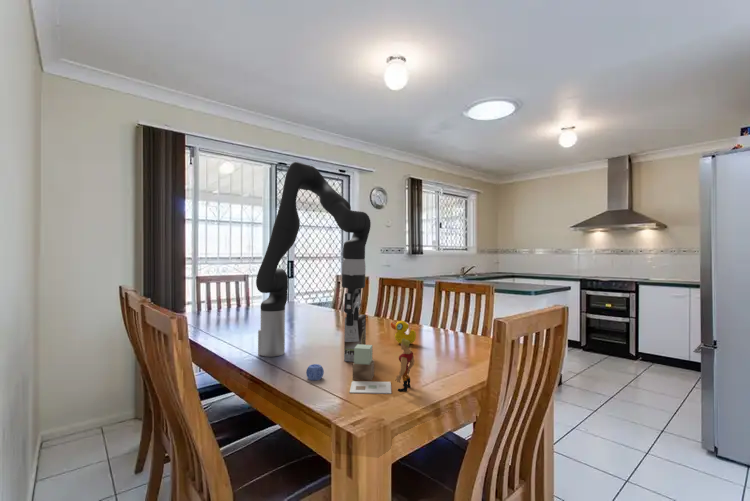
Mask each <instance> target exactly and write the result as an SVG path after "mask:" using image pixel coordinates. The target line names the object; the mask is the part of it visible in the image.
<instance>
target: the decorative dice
mask: <svg viewBox="0 0 750 501" xmlns="http://www.w3.org/2000/svg"><path fill="white" fill-rule="evenodd" d="M305 371H306V372H305V374H306V377H307V379H308V380H309V381H320V380H321V379H322V378H323V376H324V373H325V372H324V367H323V366H322V365H321V364H317V363H313V364H309V366H308V367H307V368H306V370H305Z"/></svg>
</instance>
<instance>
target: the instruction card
mask: <svg viewBox="0 0 750 501" xmlns="http://www.w3.org/2000/svg"><path fill="white" fill-rule="evenodd" d="M391 382H392V381H366V380H352V381H351V383H350V389H349V394H380V395H381V394H383V395H385V394H387V395H391V394H392V384H391Z"/></svg>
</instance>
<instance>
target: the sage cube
mask: <svg viewBox="0 0 750 501" xmlns="http://www.w3.org/2000/svg"><path fill="white" fill-rule="evenodd" d="M372 360H373V344H366V345H361V344H357V346H356V347H355V348H354V362H353V363H354V364H365V365H370V363H371V362H372Z"/></svg>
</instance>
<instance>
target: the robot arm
mask: <svg viewBox="0 0 750 501" xmlns="http://www.w3.org/2000/svg"><path fill="white" fill-rule="evenodd" d="M299 190H303V191H309V192H311V193H314V194H315V195H316V196H317V197H318V198H319V202H320V204H321V206H322V207H323V209H325V211H327V213H328V214H329V215H330V216H332V217H333V219H334V221H335V223H336V225H337V226H338V228H339V229H341V231H344V232H345V233H351V234H352V236H351V239H349V240H346V241H344V243H343V255H342V256H343V257H342V264H341V287H342V288H344V289H347V292H345V293H344V310H343V312H344V313H345V314H346V316H345V317H346V325H347V326H353V325H354V321H357V320H358V319H359V314H360V308H361V306H362V304H361V300H362V299H361V298H362V296H361V295H362V289H364V288H365V287H366V245H367V243H368V238H369V235H370V234H369V233H370V230H371V224H372V222H371V218H370V216H369V214H368V213H367V212H365V211H359V210H352V207H351V205H350V203H349V201H348V200H347V199H346V198H344V196H342V195H341V194H339V193H338V192H337V191H336V190H335V189H334V188H333V187H332V186H331V185H330V184H329V182H327V180H326V178H324V176H323V174H321V172H320V171H319V170H318V169H317V168H316V167H315V166H313V165H310V164H307V163H303V162H299V161H293V162H292V163H291V164H290V165H289V166H288V168H287V170H286V174H285V178H284V184H283V188H282V192H281V193H282V195H281V198H280V203H279V207H278V211H277V213H276V217H275V220H274V224H273V225H272V226H273V228H272V230H271V235H270V238H269V242H268V246H267V248H266V252H265V254H264V257H263V259H262V262H261V265H260V267H259V270H258V272H257V275H256V279H255V284H256V285H255V286H256V288H257V291H258V292H259V293H262V294H269V295H268V297H267V298H266V299H265V300H263V301H262V302H261V303H260V329H258V332H257V334H258V335H257V337H258V338H257V339H258V340H257V344H258V345H257V355H258V356H262V357H278V356H282V355H284V354H286V353H285V350H286V347H285V345H286V342H285V341H286V340H285V339H286V337H285V336H286V305H287V301H288V288H289V287H288V286H289V278H288V274H287V272H286V270H284V269H283V268H278V266H279V263H280V262H281V260H282V259H283V257H284V256H286V254H287V253H288V251H289V250H290V249H291V248H292V247H293V245H294V244H295V242H296V240H297V237H298V234H299V230H300V226H301V224H300V216H299V213H298V209H297V197H298V195H299V194H298V193H299Z"/></svg>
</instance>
